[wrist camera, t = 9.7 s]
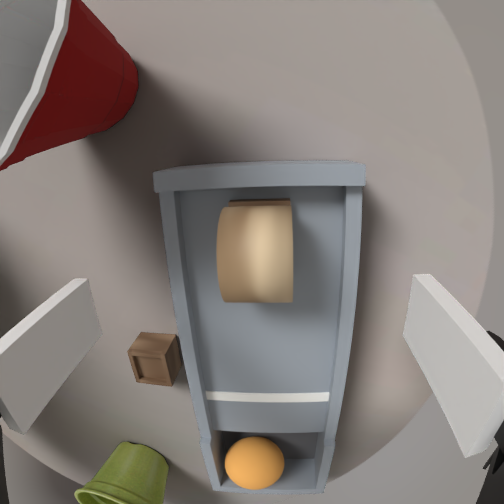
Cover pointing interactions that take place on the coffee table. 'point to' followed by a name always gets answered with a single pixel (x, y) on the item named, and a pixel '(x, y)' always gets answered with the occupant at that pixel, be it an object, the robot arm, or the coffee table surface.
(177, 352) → the small wooden crate
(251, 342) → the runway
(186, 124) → the coffee table surface
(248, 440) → the ball
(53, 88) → the plastic cup
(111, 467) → the plant pot
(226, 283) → the block
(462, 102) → the coffee table surface
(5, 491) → the robot arm
